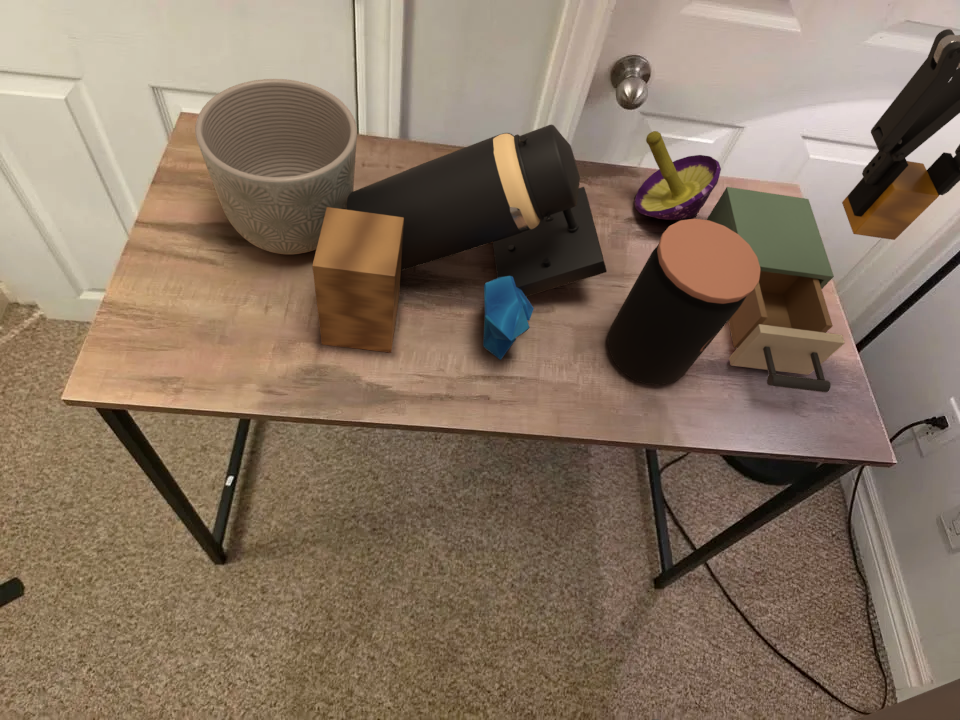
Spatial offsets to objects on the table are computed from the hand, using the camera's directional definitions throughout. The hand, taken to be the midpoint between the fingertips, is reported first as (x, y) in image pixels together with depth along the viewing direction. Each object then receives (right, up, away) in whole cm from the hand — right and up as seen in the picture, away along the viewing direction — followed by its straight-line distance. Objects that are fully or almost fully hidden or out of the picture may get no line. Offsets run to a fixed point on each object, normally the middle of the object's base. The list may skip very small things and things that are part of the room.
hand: (878, 209), depth 63 cm
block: (0, -1, +1) cm, 2 cm away
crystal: (-38, -12, +14) cm, 43 cm away
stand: (-54, -10, +12) cm, 56 cm away
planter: (-64, +2, +19) cm, 67 cm away
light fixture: (-41, -3, +19) cm, 45 cm away
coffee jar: (-19, -14, +16) cm, 29 cm away
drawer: (-3, -13, +18) cm, 23 cm away
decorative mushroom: (-17, +15, +21) cm, 31 cm away
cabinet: (-3, -3, +26) cm, 26 cm away
